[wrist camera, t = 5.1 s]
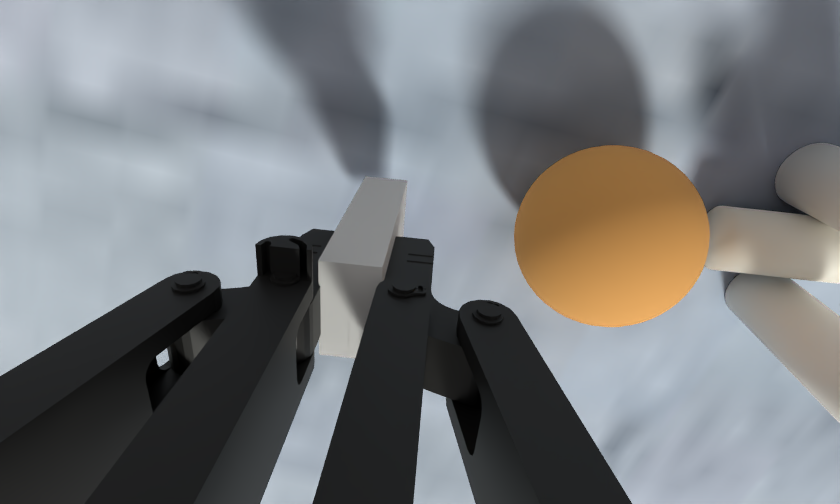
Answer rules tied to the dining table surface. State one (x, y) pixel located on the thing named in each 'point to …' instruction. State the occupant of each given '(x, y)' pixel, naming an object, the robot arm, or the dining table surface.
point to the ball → (612, 236)
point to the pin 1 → (812, 182)
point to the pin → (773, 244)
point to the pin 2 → (792, 331)
